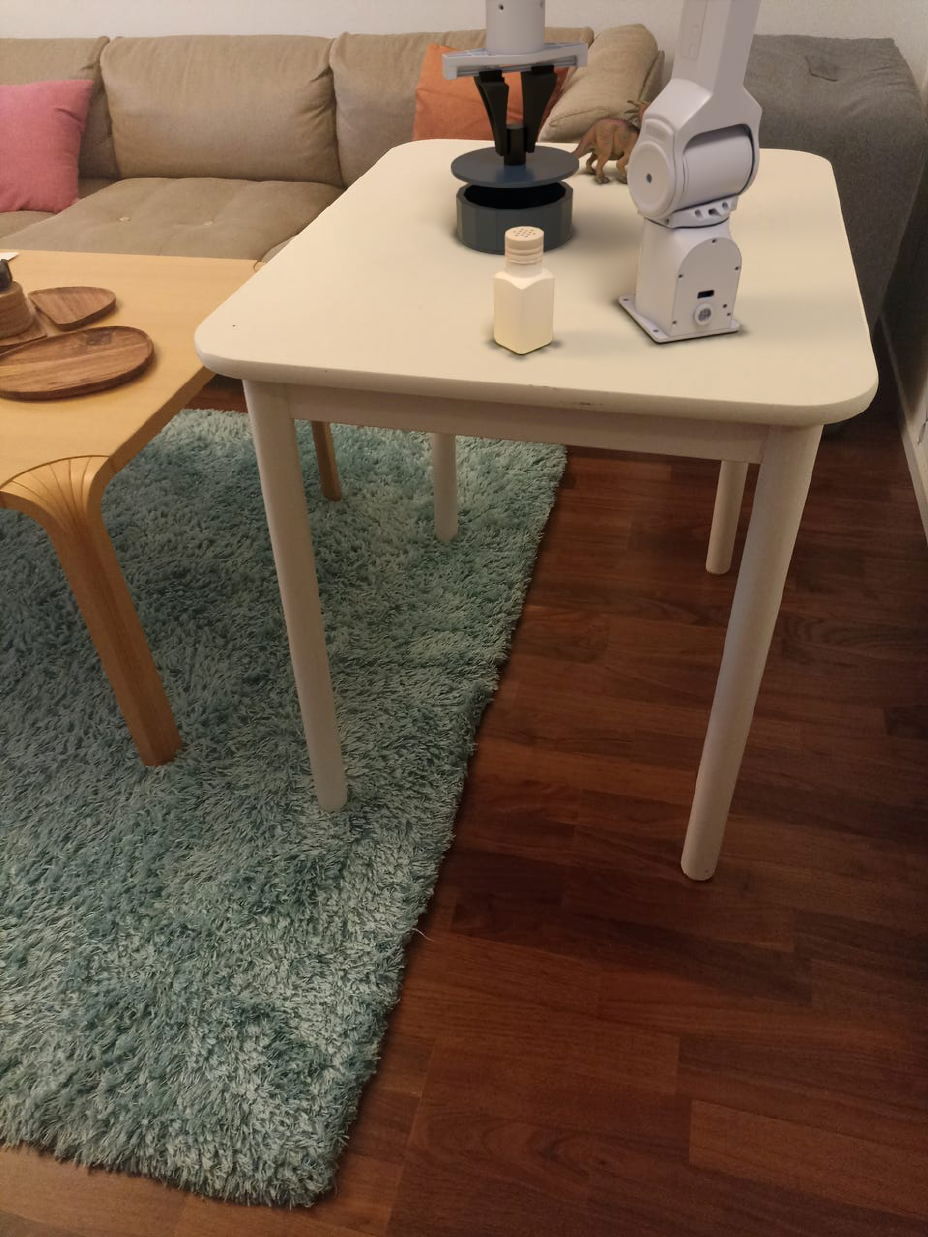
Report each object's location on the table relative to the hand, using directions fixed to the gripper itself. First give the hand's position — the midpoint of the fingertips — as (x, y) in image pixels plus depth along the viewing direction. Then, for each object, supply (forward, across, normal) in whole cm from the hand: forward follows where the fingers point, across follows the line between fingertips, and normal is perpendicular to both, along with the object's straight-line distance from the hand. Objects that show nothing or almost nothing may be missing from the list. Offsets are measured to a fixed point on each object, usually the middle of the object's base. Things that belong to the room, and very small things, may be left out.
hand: (515, 151), depth 90 cm
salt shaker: (+9, +7, +26) cm, 29 cm away
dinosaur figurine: (+8, -18, -15) cm, 25 cm away
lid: (+2, 0, 0) cm, 2 cm away
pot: (+8, 0, 0) cm, 8 cm away
